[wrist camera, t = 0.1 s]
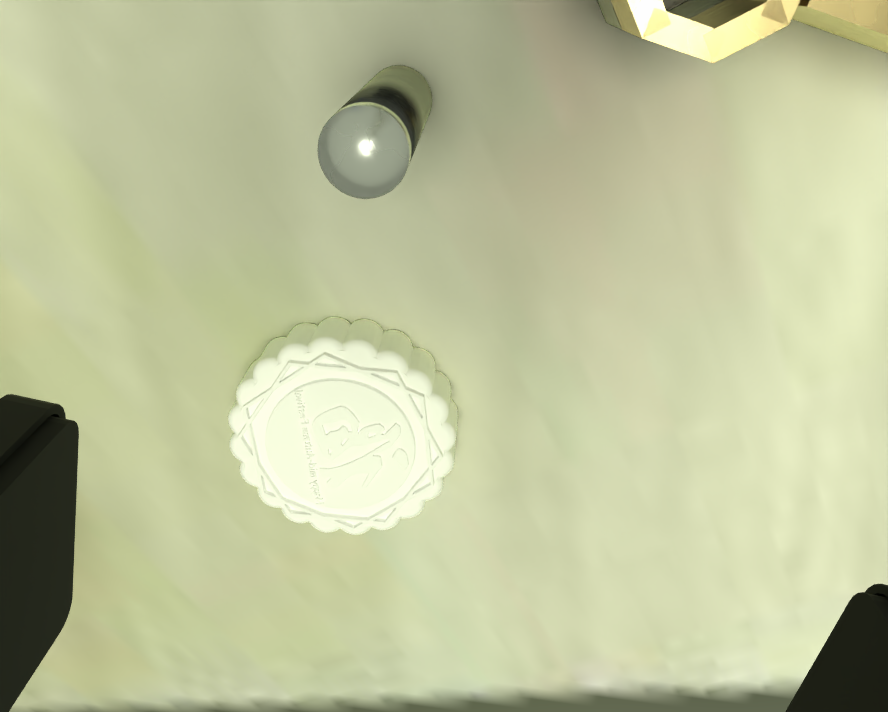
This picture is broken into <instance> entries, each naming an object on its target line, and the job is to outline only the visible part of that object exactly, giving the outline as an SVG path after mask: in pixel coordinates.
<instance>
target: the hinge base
mask: <svg viewBox="0 0 888 712" xmlns="http://www.w3.org/2000/svg"><path fill="white" fill-rule="evenodd" d="M597 1H598V4H599V6H600V9H601V11H602V14H603V16H604V18H605V21H606V23H608V24H610V25H613V26H615V27H617V28H619V29H622V28H621V25H620V23H619V20H618V18H617V15H616V13H615V10H614V8H613V5H612V3H611V0H597ZM723 1H724V0H688V1H686V2H685V3H683V4H681V5H679V6H677V7H675V8H673V9H671V10H669V11H668V12H669V13H672V14H675V15H678V16H681V17H683V18H686V19H690V18H692V17H694V16H696V15H698V14H699V13H701V12H703V11H705V10H707V9H709V8H711V7H713V6H715V5H717V4H719V3H721V2H723Z"/></svg>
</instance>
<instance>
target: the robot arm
mask: <svg viewBox="0 0 888 712" xmlns="http://www.w3.org/2000/svg"><path fill="white" fill-rule="evenodd" d="M78 438H79V431H78V425H77V423H76V422H75V421H72V420H68V419H66V418H65V412H64V409H63V407H62V406H60V405H59V404H54V403H50V402H45V401H41V400H36V399H31V398H27V397H22V396H18V395H13V394H10V395H5V396H4V397H2V398H1V399H0V712H9V710H10V709H11V707H12V706H13V704H14V703H15V701H16V700H17V698H18V697H19V695H20V693H21V692H22V690H23V689H24V687H25V686H26V684H27V683H28V681H29V680H30V678H31V676H32V675H33V673H34V672H35V670H36V669H37V667H38V666H39V664H40V663H41V661H42V660H43V658H44V656H45V655H46V653H47V652H48V650H49V649H50V647H51V646H52V644H53V643H54V641H55V639H56V638H57V636H58V635H59V633H60V632H61V630H62V628H63V626H64V624H65V622H66V620H67V617H68V614H69V611H70V607H71V603H72V592H73V566H74V541H75V515H76V489H77V464H78ZM786 712H888V585H884V584H874V585H873V586H871V587H869V588H868V589H867V590H866V591H865V593H864V592H862V593H857V594H856V595H854V596H853V597H852V599H851V600H850V601H849V603H848V605H847V606H846V608H845V610H844V612H843V613H842V615H841V617H840V618H839V620H838V622H837V624H836V625H835V627H834V629H833V631H832V632H831V634H830V636H829V637H828V639H827V641H826V643H825V644H824V646H823V648H822V650H821V651H820V653H819V655H818V656H817V658H816V660H815V662H814V663H813V665H812V667H811V669H810V670H809V672H808V674H807V675H806V677H805V679H804V681H803V682H802V684H801V686H800V688H799V689H798V691H797V693H796V694H795V696H794V698H793V700H792V701H791V703H790V705H789V707H788V708H787V710H786Z"/></svg>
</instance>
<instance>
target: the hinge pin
mask: <svg viewBox="0 0 888 712" xmlns="http://www.w3.org/2000/svg"><path fill="white" fill-rule="evenodd" d="M431 107H432V94H431V90H430V87H429V85H428V83H427V81H426V80H425V78H424V77H423V76H422V75H421V74H420V73H419V72H417V71H416V70H414V69H412V68H410V67H407V66H401V65H395V66H390V67H387V68H385V69H383V70H382V71H380V72H379V73H378V74H377V75H375V76H374V77H373V78H372V79H371V80H370V81H369V82H368V83H367V84H366V85H365V86H364V87H363V88H362V89H361V90H360V91H359V92H358V93H357V94H355V95H354V96H353V97H352V98H351V99H350V100H349V101H348V102H347V103H346V104H345V105H344V106H343V107H342V108H341V109H340V110H339V111H338V112H336V113H335V114H334V115H333V116H332V117H331V118H330V119H329V120H328V122H327V123H326V124H325V126H324V127H323V129H322V132H321V134H320V137H319V142H318V158H319V163H320V166H321V168H322V170H323V172H324V174H325V176H326V177H327V179H328V180H329V181H330V183H331V184H332V185H333V186H335V187H336V188H337V189H338V190H340V191H341V192H343V193H345V194H347V195H349V196H352V197H356V198H362V199H370V198H376V197H380V196H382V195H385V194H387V193H388V192H390V191H391V190H393V189H394V188H395V187H396V186H397V185H398V184H399V183H400V182H401V180H402V179H403V177H404V175H405V173H406V171H407V168H408V166H409V163H410V161H411V158H412V156H413V153H414V151H415V148H416V146H417V143H418V141H419V138H420V136H421V133H422V131H423V128H424V126H425V123H426V121H427V118H428V116H429V113H430V111H431Z"/></svg>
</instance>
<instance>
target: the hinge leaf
mask: <svg viewBox="0 0 888 712" xmlns="http://www.w3.org/2000/svg"><path fill="white" fill-rule="evenodd" d="M611 3H612V5H613V8H614V10H615V13H616V15H617V18H618V20H619V23H620V25H621V28H622V30H624V31H626V32H628V33H631V34H633V35H635V36H637V37H640V38H642V39H645V40H648V41H651V42H654V43H657V44H660V45H663V46H666V47H668V48H671V49H674V50H677V51H680V52H683V53H686V54H689V55H691V56H694V57H697V58H700V59H703V60H706V61H709V62H711V63H715V62H717V61H719V60H721V59H723V58H725V57H727V56H729V55H731V54H733V53H735V52H737V51H739V50H741V49H743V48H745V47H747V46H748V45H750V44H752V43H754V42H756V41H758V40H760V39H762V38H764V37H766V36H768V35H770V34H772V33H774V32H776V31H778V30H780V29H782V28H784V27H786V26H789V24H790V21H791V19H793V20H796V21H798V22H801V23H804V24H807V25H810V26H812V27H815V28H818V29H821V30H824V31H826V32H829V33H832V34H835V35H838V36H841V37H843V38H846V39H849V40H852V41H855V42H857V43H860V44H863V45H866V46H869V47H871V48H874V49H877V50H880V51H883V52H885V53H888V0H724V1H723V2H721V3H719V4H717V5H715V6H713V7H711V8H709V9H707V10H705V11H703V12H701V13H699V14H698V15H696V16H694V17H692V18H690V19H686V18H683V17H681V16H678V15H675V14H672V13H669V12H666V9H665V6H664V4H663V1H662V0H611Z"/></svg>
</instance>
